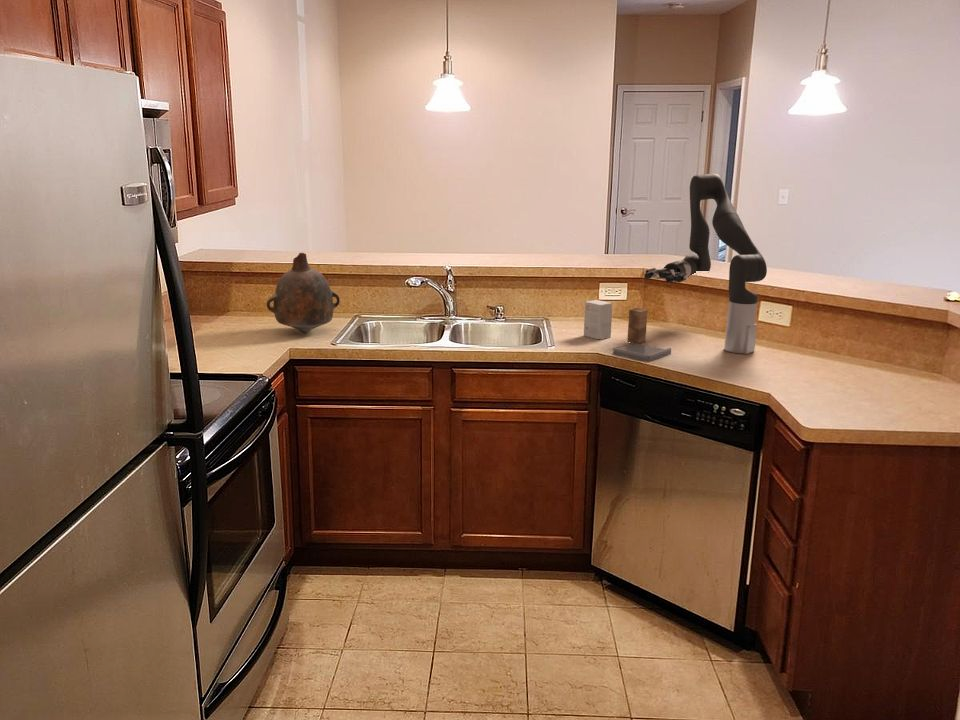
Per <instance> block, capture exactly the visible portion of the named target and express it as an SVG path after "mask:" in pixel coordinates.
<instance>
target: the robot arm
mask: <svg viewBox="0 0 960 720" xmlns="http://www.w3.org/2000/svg"><path fill="white" fill-rule="evenodd" d="M704 200H714V201H715V204H716V207H715V211H714V214H713V217H712V219H711V221H712V222H711V223H712V226H713V230H714V231H715V233H716V236H717V237H718V239H719V240H720V241H721V242H722V243H723V244H724V245H726V246H727V247H729V248H730V249H732V250H733V251H735V252H736V253H737V255H735V256H733V257H732V259H731V261H730V263H729V268H728V269H729V271H728V272H729V273H728V296H729V297H728V307H727V318H726V328H725V338H724V350H725V351H726V352H729V353H733V354H745V355H748V354H750V353H753V352H755V351H756V350H755V347H756V340H757V338H756V337H757V330H758V324H757V323H756V316H757V307H758V306H757V305H758V298H759V297H758V296H759V295H758V294H757V293H755V292H753V291H749V290H748V289H747V288H746V283H755V282H756V283H757V282H760V281H763V280H764V279H765V278H766V276H767V272H768V270H767V269H768V268H767V267H768V266H767V263H766V260H765V258H764V257H763V255H762V254H761V251H759V248H757V246H756V245H755V243H754V242H753V241H752V239H751V237H750V236H749V234H748V232H747V230H746V228H745V226H744V223H743V221H742V220H741V218H740V216H739V215H738V213H737V211H736V208H734V205H733V203H732V201H731V199H730V197H729V194H728V191H727V189H726V186H725V184H724V181H723V179H722V177H721V175H719V174H717V173H706V174H695V175H693V176H692V177H691V180H690V183H689V205H690V206H689V209H690V211H689V212H690V233H689V235H690V236H689V244H688V245H689V250H690V251H691V252H693V253H695V254H688V255H685V257H684V258H683V259H682V260H675V261H673V262H669V263H667V264H665V266H664V267H663V268H656V267H652V268H649V269H645V272H644V279H645V280H649V279H655V280H665V283H669V284H675V283H682V282H684V281H686V280H687V278H690V277H689V276H690V275H692V274H694V273H696V271H709V272H710V270H711V268H712V261H711V257H710V249H709V242H710V240H709V239H710V228H709V227H710V226H709V224H708V222H707V220H706V219H705V217H704V214H703V212H702V209H701V201H704ZM694 275H695V274H694Z"/></svg>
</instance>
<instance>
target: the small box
mask: <svg viewBox="0 0 960 720" xmlns="http://www.w3.org/2000/svg"><path fill="white" fill-rule="evenodd" d="M612 315H613V302H609V301H604V300H599V299H594V300H586V301H585V302H584V322H583V325H584V326H583V337H587V338H592V339H595V340H598V339H601V340H605V338H606V339H609V337H610V338H612V337H611V336H612V322H613V320H612V318H613V317H612Z"/></svg>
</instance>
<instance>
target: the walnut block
mask: <svg viewBox="0 0 960 720" xmlns="http://www.w3.org/2000/svg"><path fill="white" fill-rule="evenodd" d="M628 311H629V312H628V329H627V341H626V342H630V343H629V344H632V343H634V344H635V343H638V344H641V343H643V344H645V343H646V337H647V323H648V322H647V321H648V309H646V308H644V309H643V308H638V307H635V308H631V309H629V310H628Z"/></svg>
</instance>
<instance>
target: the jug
mask: <svg viewBox="0 0 960 720" xmlns="http://www.w3.org/2000/svg"><path fill="white" fill-rule="evenodd" d="M333 299H336V302H335V303H334V300H333ZM340 300H341V299H340V297H339V295H338V294H337V293H336V292H334V291H332V290H331V287H330V284H329V282H328V281H327V278H326V277H325V276H324V275H323V274H322V273H321V272H320V271H318V270H317V269H315V268H311V267H310V264H309V262H308V257H307V254H306V253H305V252H299V253H298V254H297V256H295V257H294V258H293V261H292V267H291V269H290V270H288V271H286V272H284V273H283V274H282V275H281V277H280V278H279V280H278V282H277V284H276V287H275V291H274V294H273V295H272V296H270V297H269V298H268V299H267V301H266V308H267V309H268V311H270V313H271V312H272V313H274V314H273V315H274V317H275V318H274V319H276V321H277V323H278V324H280V325H284V326H287V327H290V328H293V329H295V330H298V331H299V332H302V333H309V332H310V331H312V330H313V329H316V328H318V327H322V326H324V325H326V324H329V323H330V322H331V321H332V320H333V317H334V310H335V309H336V308H337V307H338V306H339V305H340ZM272 302H273V306H271V303H272Z"/></svg>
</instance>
